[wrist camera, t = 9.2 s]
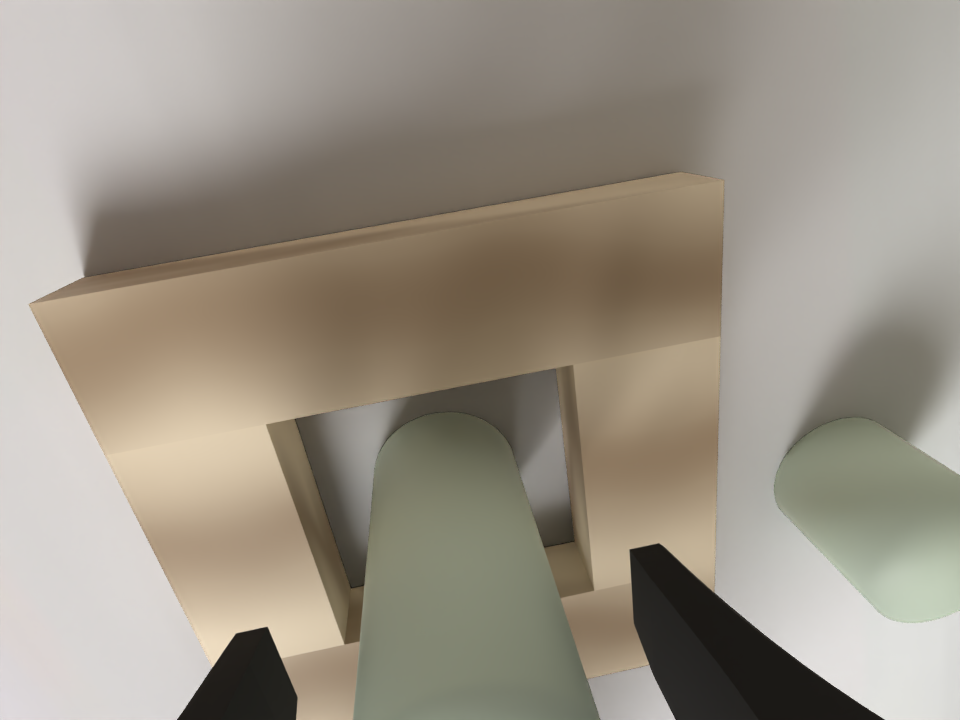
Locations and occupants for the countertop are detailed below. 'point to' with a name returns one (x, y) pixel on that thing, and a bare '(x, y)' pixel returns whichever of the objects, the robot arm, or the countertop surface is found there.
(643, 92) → the countertop surface
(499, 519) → the tall peg
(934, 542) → the short peg
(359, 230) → the hole board
